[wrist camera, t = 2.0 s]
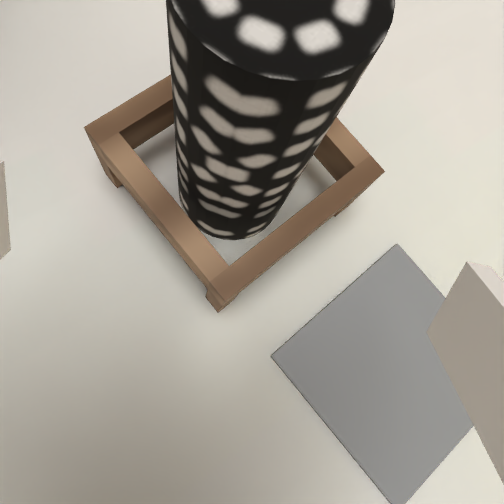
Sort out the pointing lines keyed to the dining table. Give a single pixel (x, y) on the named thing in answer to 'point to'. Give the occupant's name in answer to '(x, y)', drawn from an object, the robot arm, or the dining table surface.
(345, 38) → the spotted tube
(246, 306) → the dining table surface
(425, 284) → the mat
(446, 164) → the dining table surface
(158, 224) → the square frame stand
